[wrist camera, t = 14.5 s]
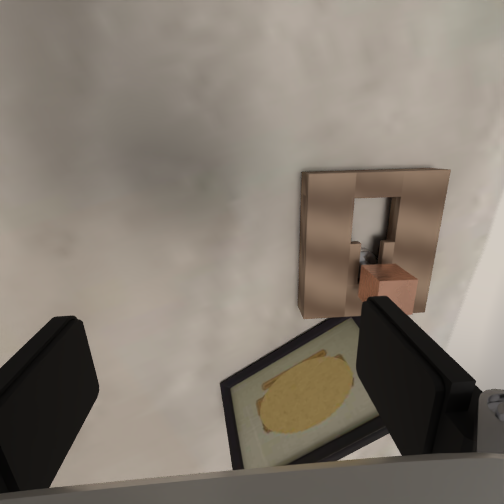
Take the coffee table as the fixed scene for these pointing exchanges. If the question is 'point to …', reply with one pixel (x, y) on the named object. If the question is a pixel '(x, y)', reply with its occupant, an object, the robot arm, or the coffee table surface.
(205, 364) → the coffee table surface
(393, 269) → the peg
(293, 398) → the picture frame
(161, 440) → the coffee table surface
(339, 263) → the keyhole board
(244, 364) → the coffee table surface
